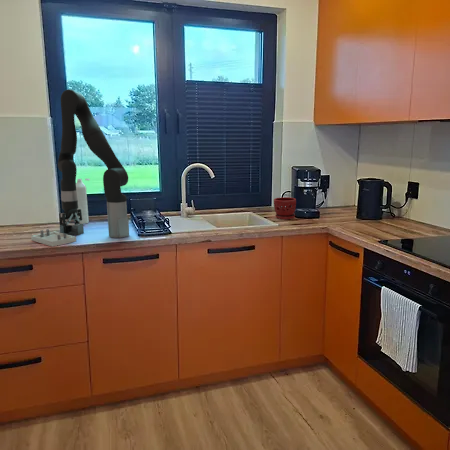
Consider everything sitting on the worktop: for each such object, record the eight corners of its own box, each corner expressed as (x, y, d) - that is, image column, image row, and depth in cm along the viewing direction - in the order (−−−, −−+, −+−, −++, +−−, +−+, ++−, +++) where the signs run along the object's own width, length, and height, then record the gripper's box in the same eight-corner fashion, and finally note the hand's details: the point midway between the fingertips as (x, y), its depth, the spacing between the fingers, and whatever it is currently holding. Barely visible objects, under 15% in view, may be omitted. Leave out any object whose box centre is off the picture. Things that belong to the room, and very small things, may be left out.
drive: (83, 233, 211) (83, 223, 209) (78, 235, 206) (77, 225, 205) (66, 232, 212) (65, 222, 211) (60, 234, 208) (59, 224, 207)
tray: (76, 241, 194) (75, 232, 193) (52, 246, 185) (51, 237, 184) (55, 235, 205) (54, 227, 204) (31, 240, 196) (30, 231, 195)
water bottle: (75, 224, 231) (72, 179, 226) (77, 221, 237) (74, 178, 232) (92, 223, 233) (89, 179, 227) (93, 221, 239) (90, 177, 233)
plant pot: (282, 215, 257) (283, 196, 255) (299, 218, 248) (300, 198, 245) (268, 218, 249) (269, 198, 246) (285, 221, 239) (286, 201, 237)
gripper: (72, 197, 213) (74, 227, 217) (53, 201, 200) (56, 234, 203) (84, 197, 211) (87, 228, 214) (66, 202, 198) (69, 235, 201)
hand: (72, 231), depth 209 cm, fingers open, 8 cm apart
